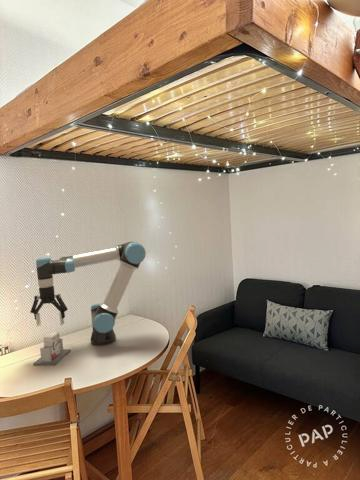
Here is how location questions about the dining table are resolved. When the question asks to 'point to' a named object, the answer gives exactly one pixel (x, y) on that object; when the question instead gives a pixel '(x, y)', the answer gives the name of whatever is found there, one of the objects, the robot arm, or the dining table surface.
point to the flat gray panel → (46, 355)
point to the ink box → (53, 343)
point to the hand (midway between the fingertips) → (50, 324)
